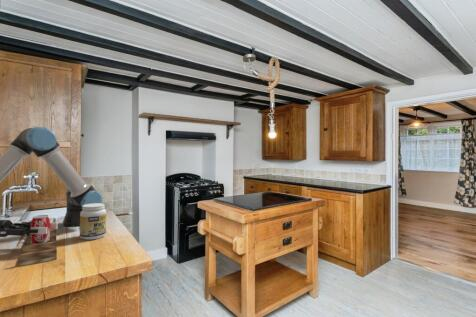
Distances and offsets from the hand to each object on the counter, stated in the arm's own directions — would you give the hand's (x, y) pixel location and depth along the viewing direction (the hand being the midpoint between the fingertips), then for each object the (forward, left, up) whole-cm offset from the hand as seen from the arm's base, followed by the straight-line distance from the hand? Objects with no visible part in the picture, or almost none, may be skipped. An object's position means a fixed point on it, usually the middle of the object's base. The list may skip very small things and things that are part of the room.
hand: (52, 228), depth 119 cm
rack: (+4, -2, -10) cm, 11 cm away
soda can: (+4, -3, -7) cm, 8 cm away
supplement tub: (-18, -10, -10) cm, 23 cm away
